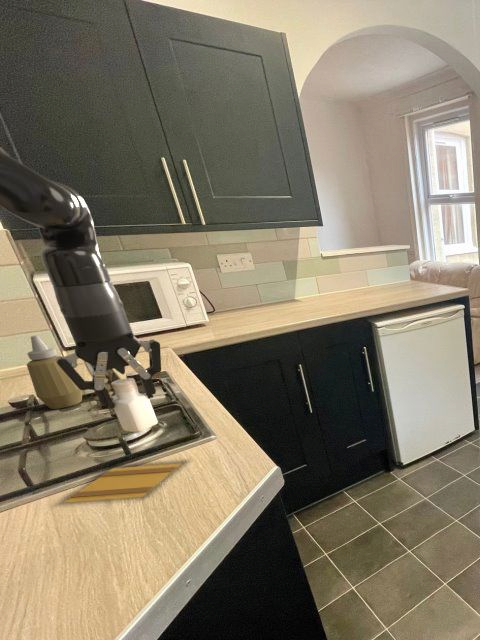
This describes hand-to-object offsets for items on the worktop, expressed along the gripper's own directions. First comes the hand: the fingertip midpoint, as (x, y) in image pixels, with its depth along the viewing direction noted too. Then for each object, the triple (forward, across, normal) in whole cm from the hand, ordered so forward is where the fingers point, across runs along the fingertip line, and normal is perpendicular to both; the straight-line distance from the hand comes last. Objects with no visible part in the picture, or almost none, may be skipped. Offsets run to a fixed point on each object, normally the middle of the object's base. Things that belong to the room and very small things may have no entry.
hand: (130, 401), depth 77 cm
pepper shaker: (+6, 0, 0) cm, 6 cm away
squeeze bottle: (+12, +7, -51) cm, 53 cm away
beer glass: (+12, -2, -41) cm, 43 cm away
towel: (+12, +5, +8) cm, 15 cm away
